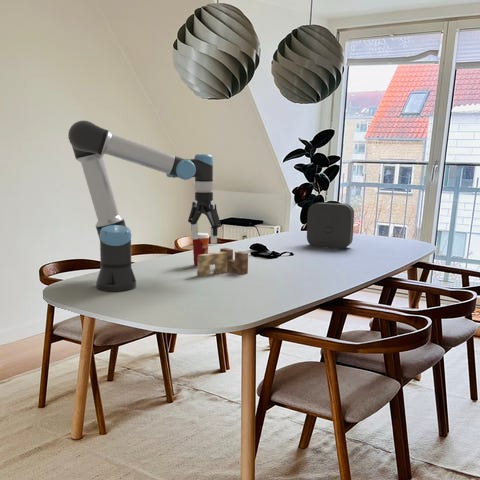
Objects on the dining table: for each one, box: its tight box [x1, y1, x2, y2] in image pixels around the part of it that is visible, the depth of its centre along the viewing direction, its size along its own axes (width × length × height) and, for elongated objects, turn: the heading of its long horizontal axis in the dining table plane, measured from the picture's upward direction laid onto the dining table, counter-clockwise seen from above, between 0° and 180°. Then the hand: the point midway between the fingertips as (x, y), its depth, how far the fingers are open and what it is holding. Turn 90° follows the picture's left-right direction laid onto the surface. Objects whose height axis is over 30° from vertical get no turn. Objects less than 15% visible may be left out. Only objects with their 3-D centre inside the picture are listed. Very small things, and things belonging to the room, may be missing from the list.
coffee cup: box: [192, 232, 210, 267], centre depth 250 cm, size 8×8×15 cm
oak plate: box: [196, 251, 228, 278], centre depth 234 cm, size 14×3×9 cm, turn 130°
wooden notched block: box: [219, 247, 249, 275], centre depth 242 cm, size 16×3×9 cm, turn 40°
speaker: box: [306, 202, 355, 250], centre depth 305 cm, size 25×9×25 cm, turn 67°
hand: (204, 241), depth 229 cm, fingers open, 13 cm apart
